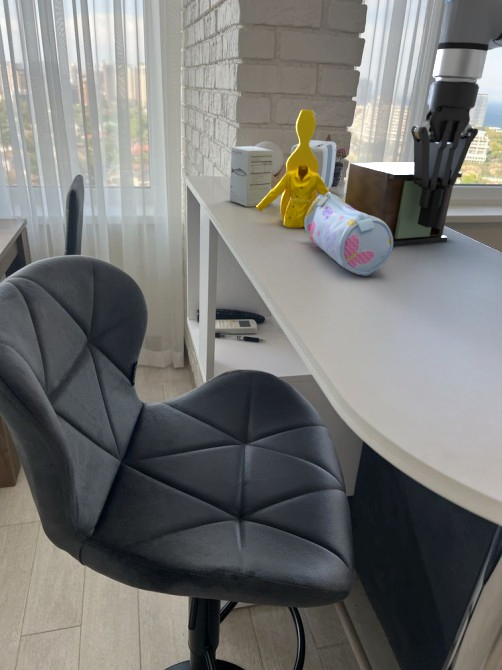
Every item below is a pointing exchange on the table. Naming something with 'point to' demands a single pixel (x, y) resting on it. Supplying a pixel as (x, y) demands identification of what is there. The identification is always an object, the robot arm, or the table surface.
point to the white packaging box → (250, 174)
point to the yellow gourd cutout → (323, 159)
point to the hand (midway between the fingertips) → (425, 225)
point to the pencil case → (348, 234)
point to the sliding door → (415, 213)
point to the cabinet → (386, 195)
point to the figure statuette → (298, 177)
